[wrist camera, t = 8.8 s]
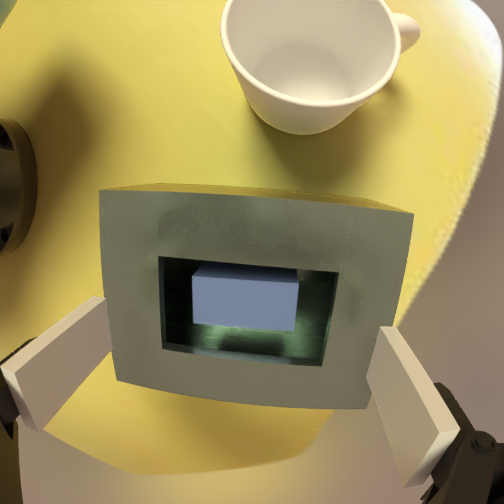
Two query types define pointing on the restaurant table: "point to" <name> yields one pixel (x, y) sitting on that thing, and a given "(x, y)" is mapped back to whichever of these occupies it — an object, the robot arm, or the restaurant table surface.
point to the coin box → (253, 253)
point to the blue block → (245, 296)
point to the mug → (312, 57)
